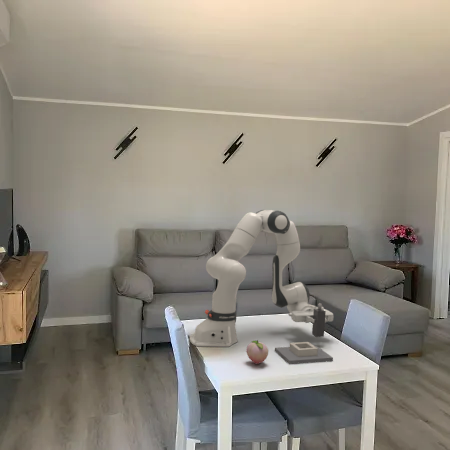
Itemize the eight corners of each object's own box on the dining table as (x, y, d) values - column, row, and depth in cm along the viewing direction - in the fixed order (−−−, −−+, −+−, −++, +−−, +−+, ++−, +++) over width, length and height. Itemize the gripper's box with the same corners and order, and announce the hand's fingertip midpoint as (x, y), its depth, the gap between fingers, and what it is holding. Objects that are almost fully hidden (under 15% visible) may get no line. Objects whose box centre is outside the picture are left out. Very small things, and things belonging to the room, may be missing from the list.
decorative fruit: (272, 365, 190) (273, 341, 189) (256, 369, 185) (257, 344, 184) (258, 358, 198) (259, 335, 197) (242, 361, 193) (243, 338, 192)
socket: (289, 364, 192) (289, 353, 192) (274, 350, 207) (275, 341, 207) (332, 361, 198) (333, 350, 197) (315, 348, 213) (315, 338, 213)
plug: (315, 337, 214) (318, 304, 213) (311, 334, 218) (314, 302, 217) (323, 336, 215) (326, 304, 214) (319, 334, 219) (321, 302, 218)
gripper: (287, 307, 225) (299, 314, 212) (325, 306, 231) (339, 313, 218) (286, 319, 225) (298, 328, 212) (324, 319, 231) (338, 327, 218)
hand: (319, 321), depth 215 cm, fingers closed on plug, 4 cm apart
